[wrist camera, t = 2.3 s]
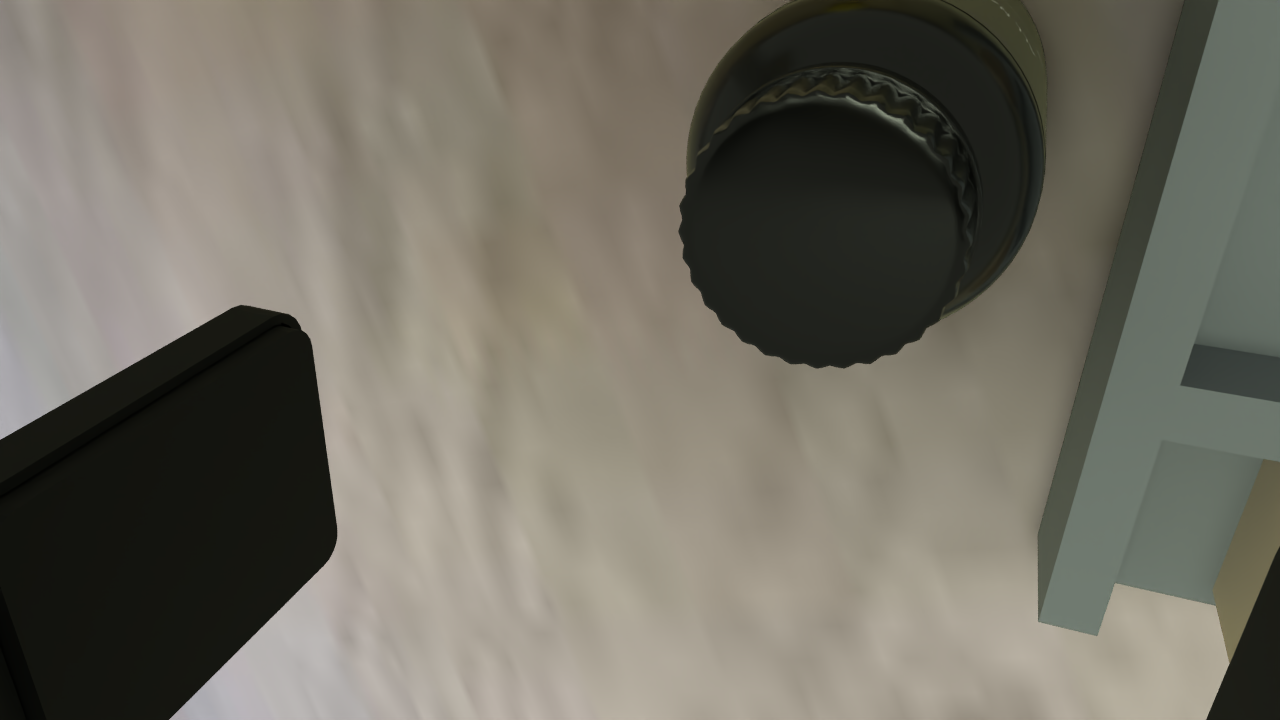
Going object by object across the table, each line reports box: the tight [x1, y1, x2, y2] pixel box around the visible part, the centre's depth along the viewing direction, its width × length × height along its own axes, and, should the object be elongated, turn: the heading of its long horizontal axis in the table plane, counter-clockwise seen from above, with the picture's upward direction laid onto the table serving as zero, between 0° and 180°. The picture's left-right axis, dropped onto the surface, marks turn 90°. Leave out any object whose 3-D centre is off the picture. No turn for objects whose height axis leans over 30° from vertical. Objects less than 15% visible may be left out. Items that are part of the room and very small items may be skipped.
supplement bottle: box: [679, 0, 1047, 368], centre depth 21 cm, size 7×7×12 cm
